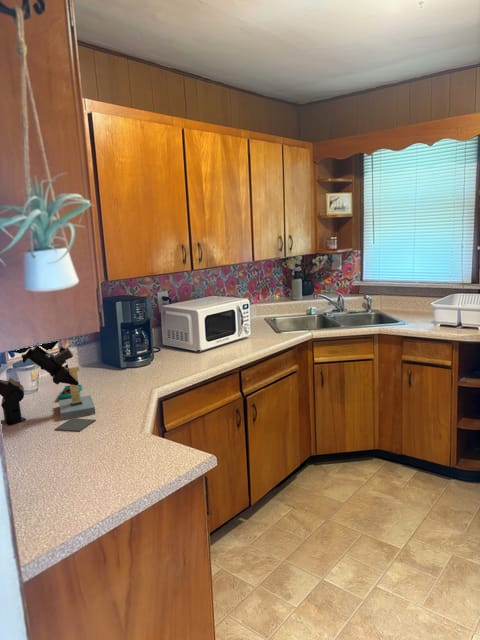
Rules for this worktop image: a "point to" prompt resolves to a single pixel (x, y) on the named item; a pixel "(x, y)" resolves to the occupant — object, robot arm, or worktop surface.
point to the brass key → (74, 388)
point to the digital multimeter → (67, 393)
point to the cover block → (76, 407)
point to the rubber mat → (75, 424)
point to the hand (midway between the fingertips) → (77, 383)
